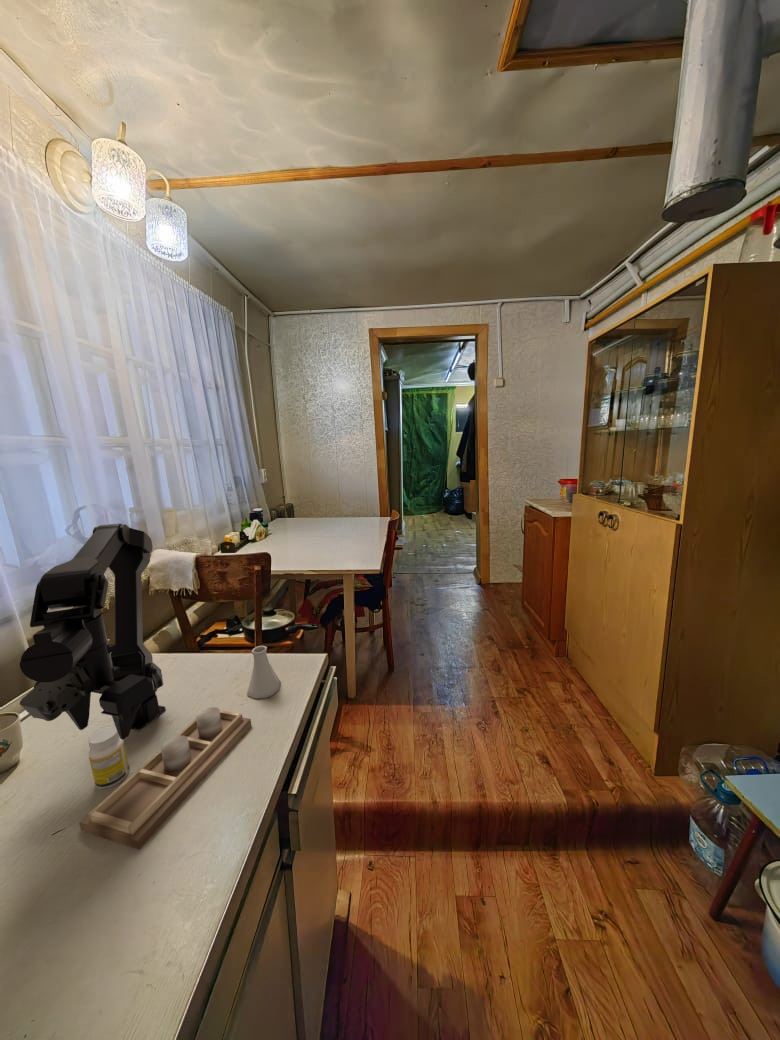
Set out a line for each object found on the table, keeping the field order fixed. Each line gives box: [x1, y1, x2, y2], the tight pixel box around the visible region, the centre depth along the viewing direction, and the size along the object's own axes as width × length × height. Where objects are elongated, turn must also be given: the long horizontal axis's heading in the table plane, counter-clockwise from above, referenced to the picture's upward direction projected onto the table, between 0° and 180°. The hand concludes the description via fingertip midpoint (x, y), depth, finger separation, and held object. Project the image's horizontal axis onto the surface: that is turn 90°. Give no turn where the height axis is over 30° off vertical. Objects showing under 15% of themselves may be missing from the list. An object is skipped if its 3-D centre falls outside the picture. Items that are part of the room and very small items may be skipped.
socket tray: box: [78, 706, 252, 851], centre depth 64 cm, size 11×24×5 cm, turn 164°
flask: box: [246, 645, 282, 699], centre depth 85 cm, size 7×7×10 cm
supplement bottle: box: [88, 725, 130, 790], centre depth 63 cm, size 5×5×8 cm
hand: (103, 732), depth 62 cm, fingers open, 9 cm apart
